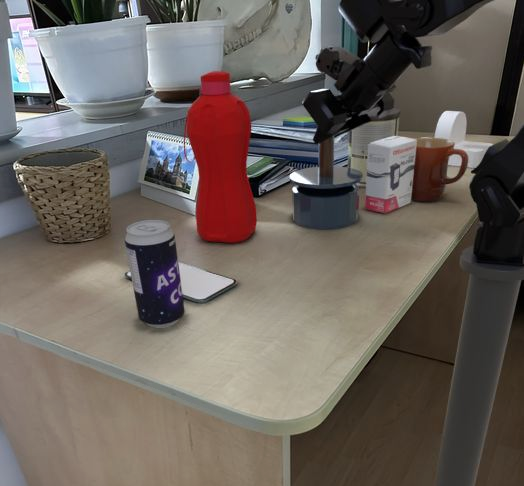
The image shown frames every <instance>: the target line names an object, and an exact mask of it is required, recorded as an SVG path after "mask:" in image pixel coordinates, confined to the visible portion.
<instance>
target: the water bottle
mask: <svg viewBox="0 0 524 486" xmlns="http://www.w3.org/2000/svg"><path fill="white" fill-rule="evenodd" d="M231 81H233V79H231V74H230V72H228V71H224V70H213V71H210V72H207V73H205V74H203V75H200V86H201V87H199V88H198V91H199V94H198V95H199V96H197V98H196V99H195V100H194V101H193V103H192V104H191V105H190V107H189V108H188V110H187V113H186V114H187V115H186V118H185V124H184V131H183V153H184V158H185V160H186V161H187V162H188V163H194V161H195V162H196V166H197V172H198V184H197V185H198V186H197V195H196V204H195V205H196V206H195V219H196V220H195V222H196V223H195V224H196V231H197V234H198V236H199V237H200V239H202V240H204V241H205V242H214V243H215V242H216V243H227V244H237V243H242V242H244V241H246V240H247V239H248V238H250V237H251V235H252V234H253V233H254V232H255V231H256V227H257V221H258V219H257V207H256V206H257V205H256V201H255V198H254V195H253V192H252V189H251V184H250V181H249V177H248V171H247V162H248V157H249V156H248V155H249V149H250V141H251V135H252V119H251V115H250V110H249V108H248V107H247V105H246V103H245V101H243V100H242V99H241V98H240V97H238V96H236V95H234V94H233V93H231V92H232V89H231ZM186 135H187V138H188V142H189V145H190V147H191V150H192V153H193V160H192V161H190V160H189V159H188V156H187V153H186Z"/></svg>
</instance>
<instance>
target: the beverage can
mask: <svg viewBox="0 0 524 486" xmlns="http://www.w3.org/2000/svg"><path fill="white" fill-rule="evenodd" d="M125 230H126V235H125V238H124V245H125V251H126V255H127V261H128V266H129V271H130V272H131V278H132V280H131V282H132V288H133V293H134V299H135V305H136V309H137V314H138V319H139V320H140V321H141V322H143V324H146V325H147V326H149V327H151V328H156V329H163V328H169V327H171V326H174V325H175V324H177V323H178V322H179V321H180V320H181V318H182V317H183V316H184V315H185V312H186V310H185V309H186V308H185V304H184V303H185V301H184V298H183V294H182V287H181V279H180V272H179V264H178V262H179V258H178V251H177V242H176V235H175V234H174V232H173V230H172V229H171V224H170V223H169V222H167V221H165V220H161V219H147V220H142V221H137V222H133V223H131V224H129V225H128V226H127V227H126V229H125Z"/></svg>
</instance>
